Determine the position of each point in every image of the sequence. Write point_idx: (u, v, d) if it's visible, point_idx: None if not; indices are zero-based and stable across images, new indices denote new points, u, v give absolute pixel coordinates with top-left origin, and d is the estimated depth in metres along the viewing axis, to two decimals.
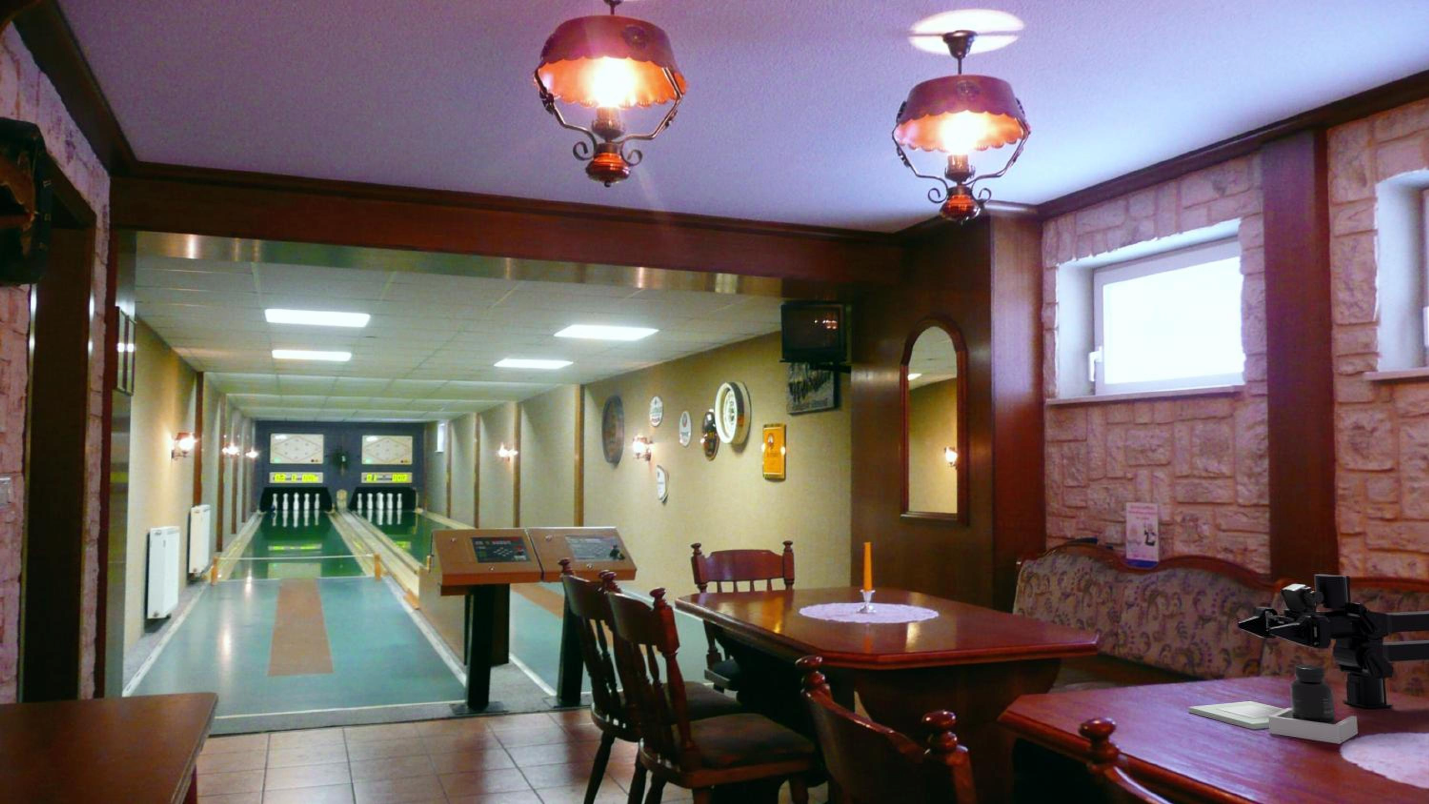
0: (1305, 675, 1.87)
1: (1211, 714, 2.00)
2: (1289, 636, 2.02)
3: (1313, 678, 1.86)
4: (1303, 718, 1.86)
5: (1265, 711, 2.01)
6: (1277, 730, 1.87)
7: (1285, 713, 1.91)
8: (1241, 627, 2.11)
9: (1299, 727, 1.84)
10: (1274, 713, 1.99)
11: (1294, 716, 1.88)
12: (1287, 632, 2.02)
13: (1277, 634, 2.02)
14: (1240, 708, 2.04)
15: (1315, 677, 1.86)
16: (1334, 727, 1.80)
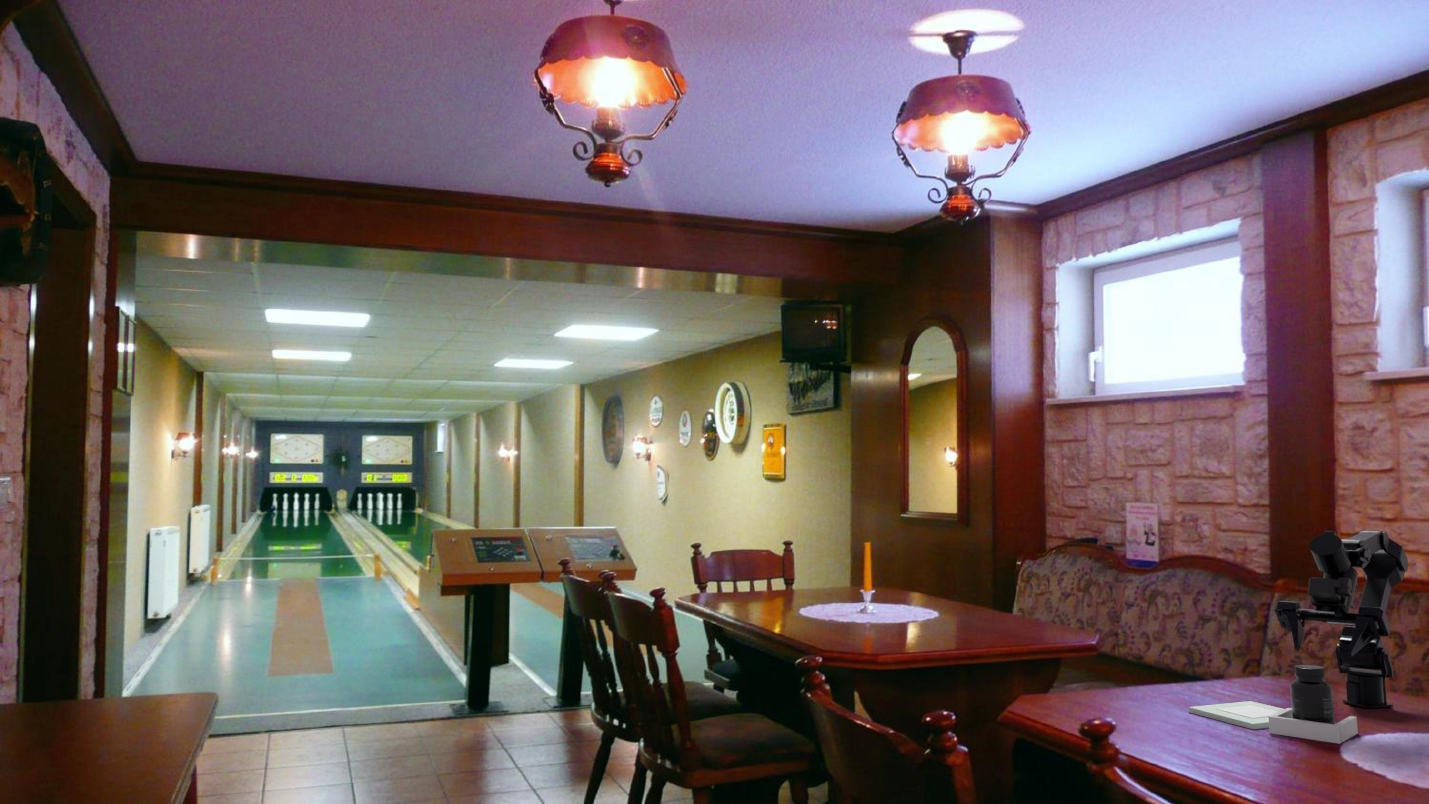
0: (1305, 675, 1.87)
1: (1211, 714, 2.00)
2: (1361, 644, 1.92)
3: (1313, 678, 1.86)
4: (1303, 718, 1.86)
5: (1265, 711, 2.01)
6: (1277, 730, 1.87)
7: (1285, 713, 1.91)
8: (1298, 648, 1.98)
9: (1299, 727, 1.84)
10: (1274, 713, 1.99)
11: (1294, 716, 1.88)
12: (1359, 643, 1.92)
13: (1355, 652, 1.91)
14: (1240, 708, 2.04)
15: (1315, 677, 1.86)
16: (1334, 727, 1.80)
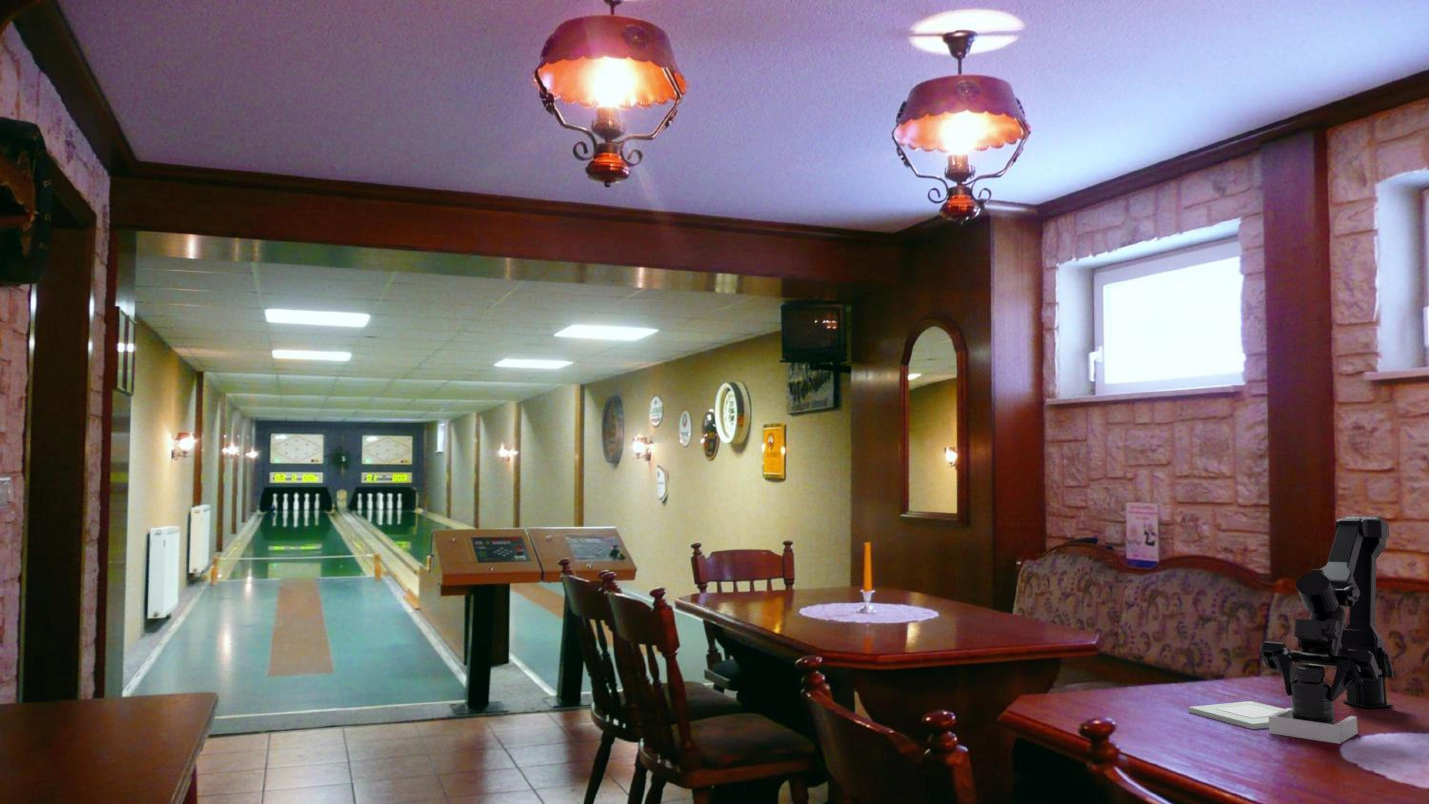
0: (1305, 675, 1.87)
1: (1211, 714, 2.00)
2: (1343, 688, 1.86)
3: (1313, 678, 1.86)
4: (1303, 718, 1.86)
5: (1265, 711, 2.01)
6: (1277, 730, 1.87)
7: (1285, 713, 1.91)
8: (1290, 693, 1.90)
9: (1299, 727, 1.84)
10: (1274, 713, 1.99)
11: (1294, 716, 1.88)
12: (1341, 687, 1.86)
13: (1336, 696, 1.85)
14: (1240, 708, 2.04)
15: (1315, 677, 1.86)
16: (1334, 727, 1.80)
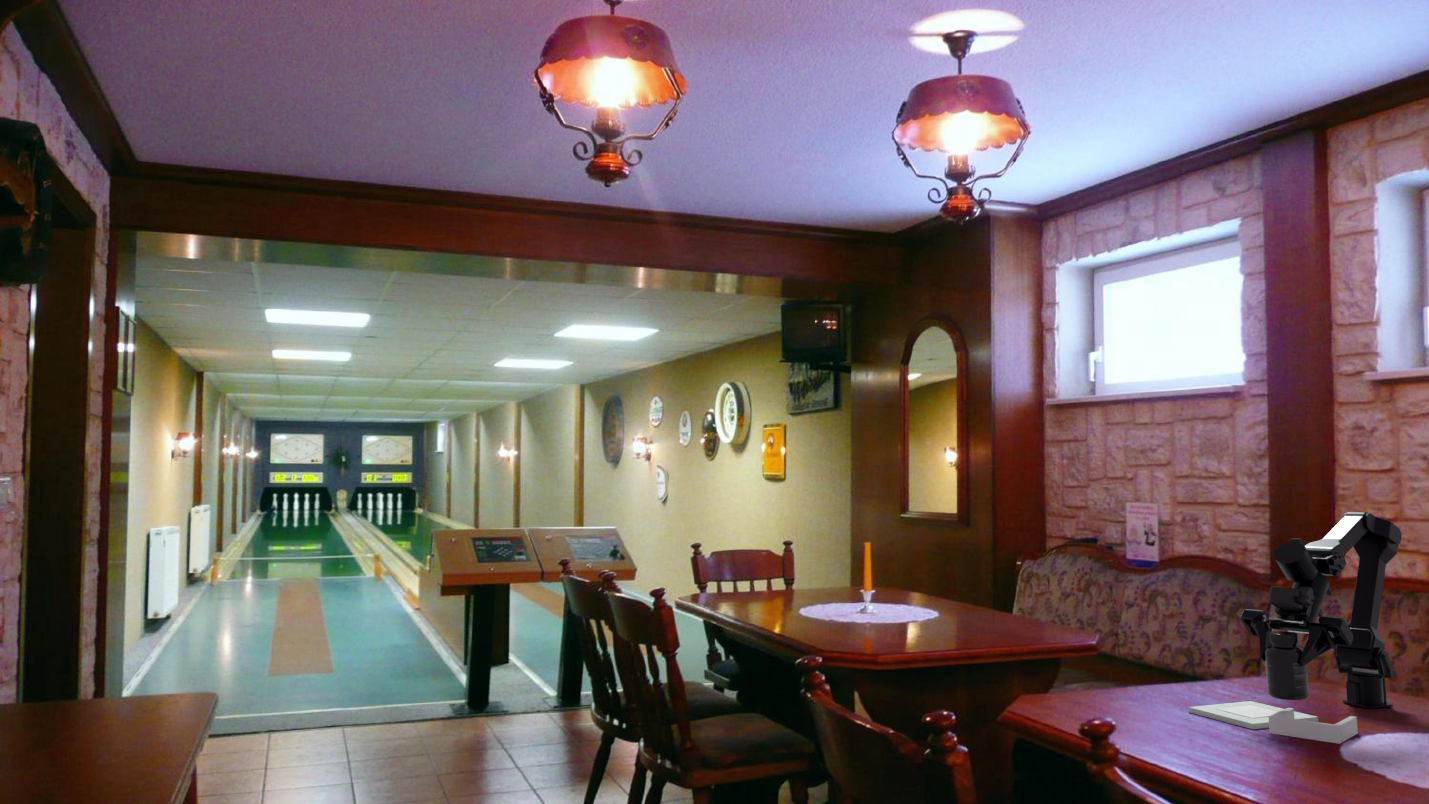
0: (1277, 640, 1.92)
1: (1211, 714, 2.00)
2: (1315, 654, 1.90)
3: (1284, 643, 1.91)
4: (1274, 682, 1.91)
5: (1265, 711, 2.01)
6: (1277, 730, 1.87)
7: (1285, 713, 1.91)
8: None
9: (1299, 727, 1.84)
10: (1274, 713, 1.99)
11: (1267, 680, 1.93)
12: (1312, 652, 1.90)
13: (1307, 661, 1.90)
14: (1240, 708, 2.04)
15: (1286, 642, 1.91)
16: (1334, 727, 1.80)
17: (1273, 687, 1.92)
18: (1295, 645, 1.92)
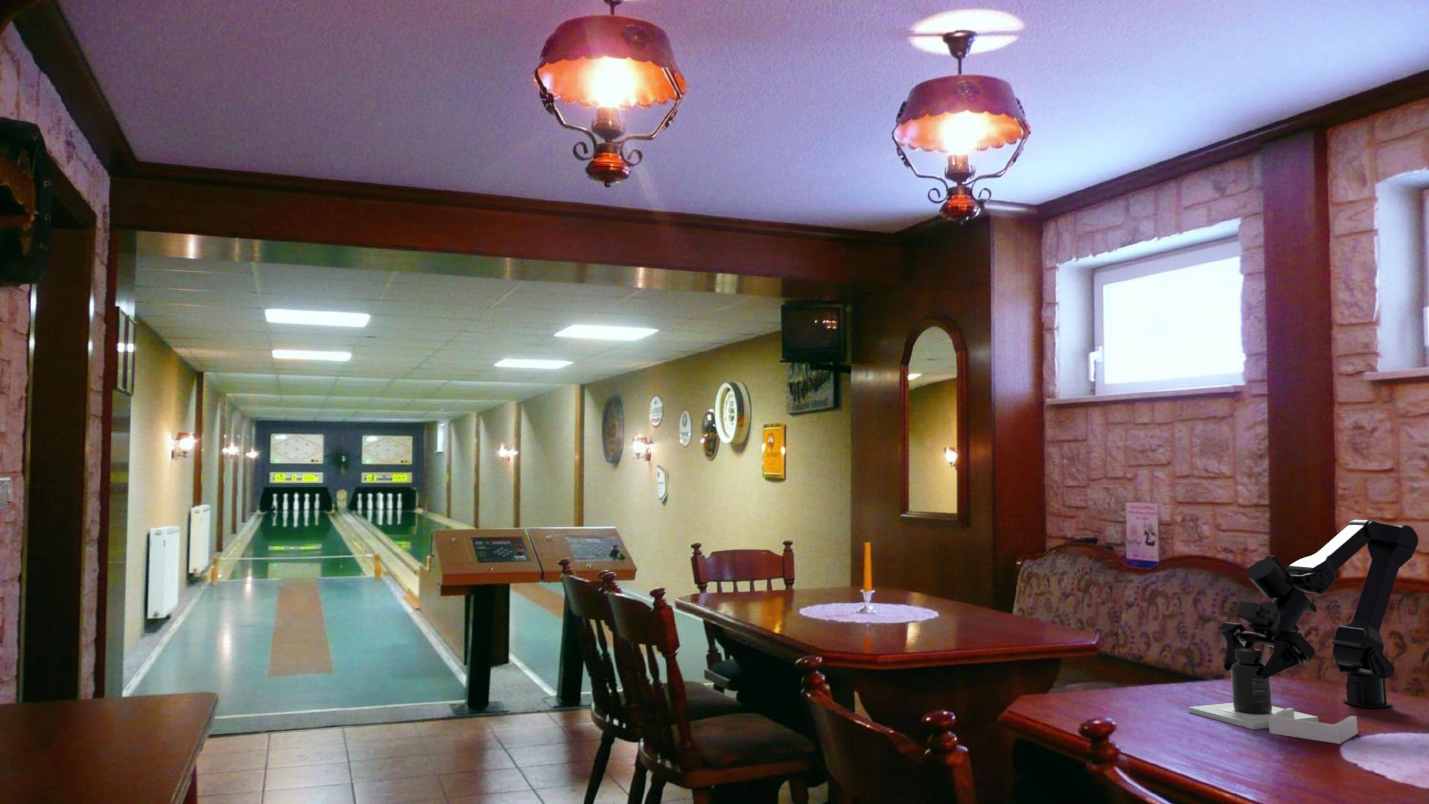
0: (1239, 656, 2.01)
1: (1211, 714, 2.00)
2: (1279, 668, 1.97)
3: (1245, 659, 2.00)
4: (1235, 696, 2.01)
5: None
6: (1277, 730, 1.87)
7: (1285, 713, 1.91)
8: (1228, 668, 2.06)
9: (1299, 727, 1.84)
10: (1274, 713, 1.99)
11: None
12: (1276, 666, 1.97)
13: (1270, 674, 1.97)
14: None
15: (1247, 658, 2.00)
16: (1334, 727, 1.80)
17: (1235, 700, 2.01)
18: (1257, 662, 2.00)
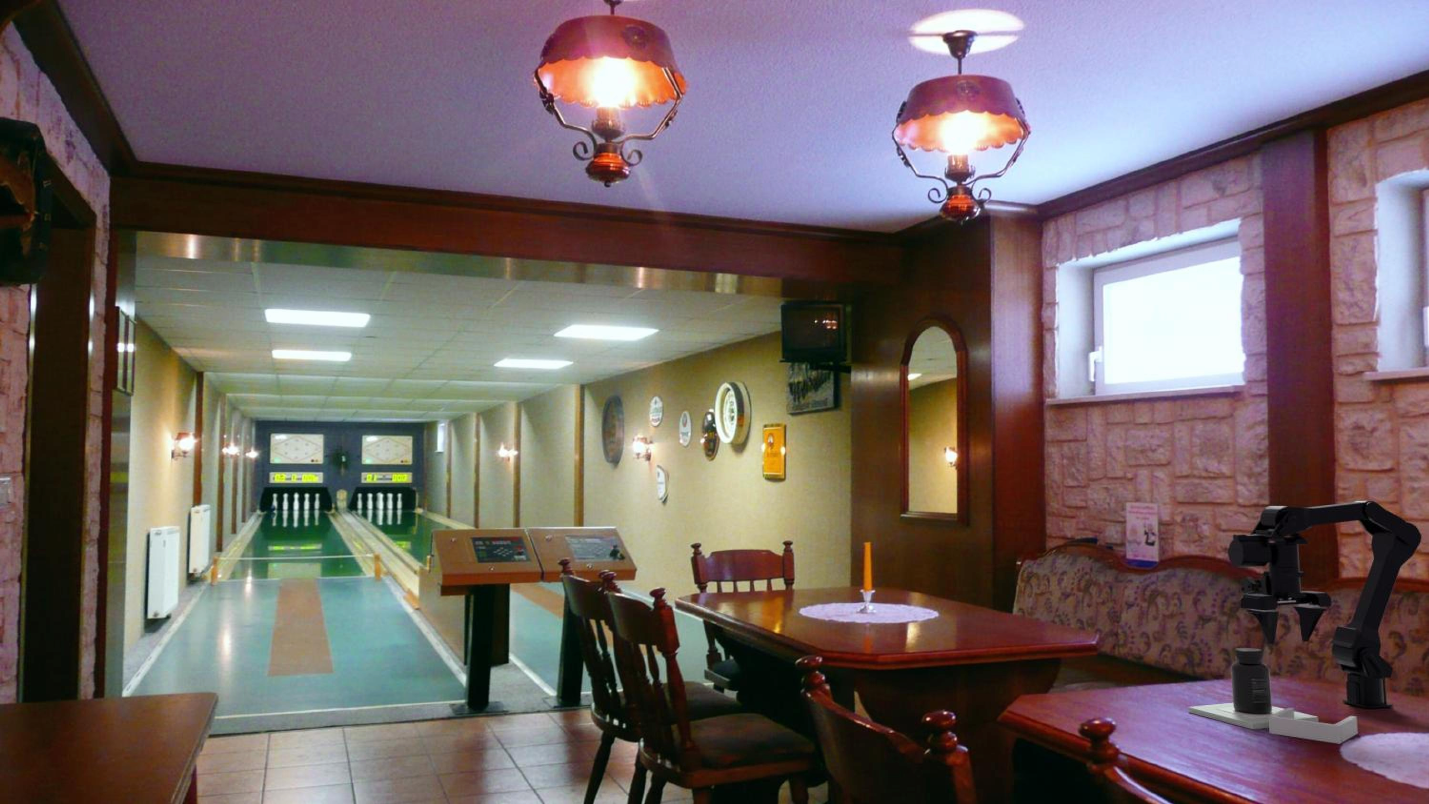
0: (1239, 656, 2.01)
1: (1211, 714, 2.00)
2: (1269, 628, 2.08)
3: (1245, 659, 2.00)
4: (1235, 696, 2.01)
5: None
6: (1277, 730, 1.87)
7: (1285, 713, 1.91)
8: (1306, 639, 2.11)
9: (1299, 727, 1.84)
10: (1274, 713, 1.99)
11: None
12: (1266, 629, 2.09)
13: (1270, 638, 2.08)
14: None
15: (1247, 658, 2.00)
16: (1334, 727, 1.80)
17: (1235, 700, 2.01)
18: (1257, 662, 2.00)
